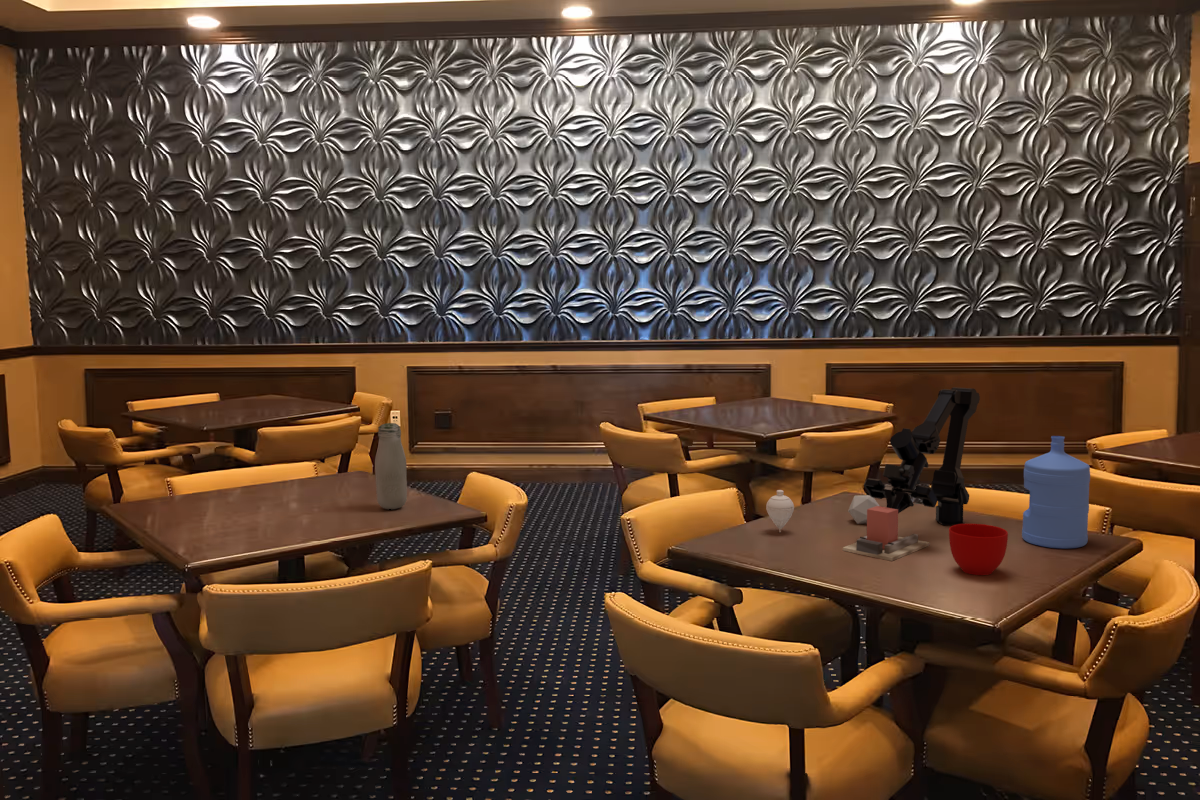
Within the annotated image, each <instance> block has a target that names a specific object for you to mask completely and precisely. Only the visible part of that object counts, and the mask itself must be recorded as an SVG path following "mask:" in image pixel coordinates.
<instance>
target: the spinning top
mask: <svg viewBox="0 0 1200 800" xmlns="http://www.w3.org/2000/svg"><path fill="white" fill-rule="evenodd" d="M765 507H766V508H765V509H766V512H767V514H768V516H769V519H771V520H772V522H773V524H774V525H775V526H776V528H777V529H778V530H779V533H781V531H782V529H783V528H784V527H785V526H786V524H787V523H788V522H789V520H790V519H791V517H792V516H793V513H794V510H795V504H794V502H793V500H792V499H791V498H790V497H789V496H787V495H784V490H782V489H777V490H776V495H773V496H771V497H769V499H768V501H767V502H766V505H765Z"/></svg>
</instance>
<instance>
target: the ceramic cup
mask: <svg viewBox="0 0 1200 800" xmlns="http://www.w3.org/2000/svg"><path fill="white" fill-rule="evenodd" d="M1008 533H1009V532H1008V531H1007V530H1006V529H1004V528H1002V527H999V526H995V525H990V524H983V523H965V524H958V525H950V526H949V528H948V539H949V546H950V547H949V549H950V552H951V555H952V558H953V560H954V561H955V563H956V565H958V567H959V568H960V569H961V570H962V572H963V573H965V574H969V575H973V576H974V575H975V576H988V575H991V574H993V572H994V571H996V569H997V568H998V567H999V566H1000V565H1001V564H1002V562H1003V560H1004V558H1005V554H1006V553H1007V552H1006V551H1007V547H1008V539H1009V534H1008Z"/></svg>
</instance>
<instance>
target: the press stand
mask: <svg viewBox="0 0 1200 800" xmlns="http://www.w3.org/2000/svg"><path fill="white" fill-rule="evenodd" d="M882 546H883V543H880V542H875V541H870V540H867V535H865V536H860V537H859V538H857V539H856V542H854V543H851V544H849V545H846V546H843V547H842V551H843V552H849V553H853V554H856V555H857V554H858V555H861V556H867V557H871V558H876V559H879V560H880V559H881V560H885V561H889V562H892V561H895V560H898V559H901V558H903V557H906V556H907V555H909V554H912V553H916V552H917V551H920V550H921V549H925V548H926V547H929V546H930V542H929V541H923V540H919V534H916V533H911V534H910V535H907V536H905V537H903V536H898V540H897V541H894V542H892V543H890V542H888V544H887V545H885V549H882Z"/></svg>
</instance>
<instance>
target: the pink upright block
mask: <svg viewBox="0 0 1200 800" xmlns="http://www.w3.org/2000/svg"><path fill="white" fill-rule="evenodd" d="M898 534H899V514H898V509H893V508H887V506H881V505H879V506H875V507H872V508H869V509H867V524H866V536H867V540H870V541H875V542H880V543H883V546H882V549H885V545H887V544H888V542H890V543H892V542H894V541H897V540H898V537H899V535H898Z"/></svg>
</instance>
